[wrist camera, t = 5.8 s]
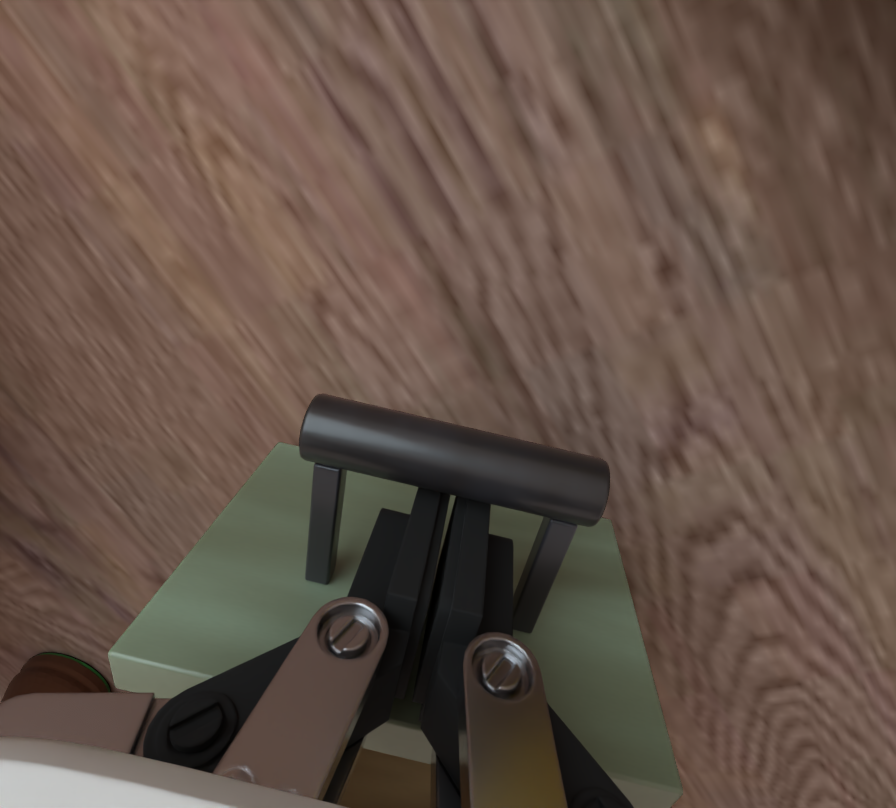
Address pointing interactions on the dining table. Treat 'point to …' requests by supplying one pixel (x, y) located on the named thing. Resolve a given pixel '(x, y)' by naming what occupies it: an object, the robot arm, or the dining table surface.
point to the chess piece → (56, 677)
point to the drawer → (340, 552)
